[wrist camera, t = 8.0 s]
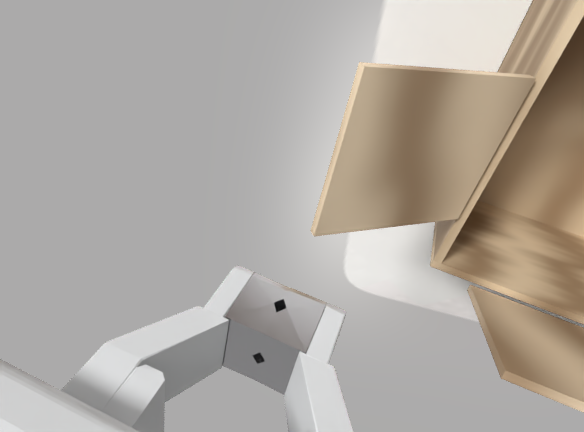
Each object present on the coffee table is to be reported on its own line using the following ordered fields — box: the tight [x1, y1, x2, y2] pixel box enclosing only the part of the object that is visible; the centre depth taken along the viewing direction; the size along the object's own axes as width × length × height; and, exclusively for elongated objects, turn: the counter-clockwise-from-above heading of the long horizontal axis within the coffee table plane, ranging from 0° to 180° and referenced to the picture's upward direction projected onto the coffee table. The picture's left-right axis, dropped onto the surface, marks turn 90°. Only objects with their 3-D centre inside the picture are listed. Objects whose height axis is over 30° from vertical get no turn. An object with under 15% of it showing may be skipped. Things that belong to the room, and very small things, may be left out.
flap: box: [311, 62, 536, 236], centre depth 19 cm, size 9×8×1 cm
